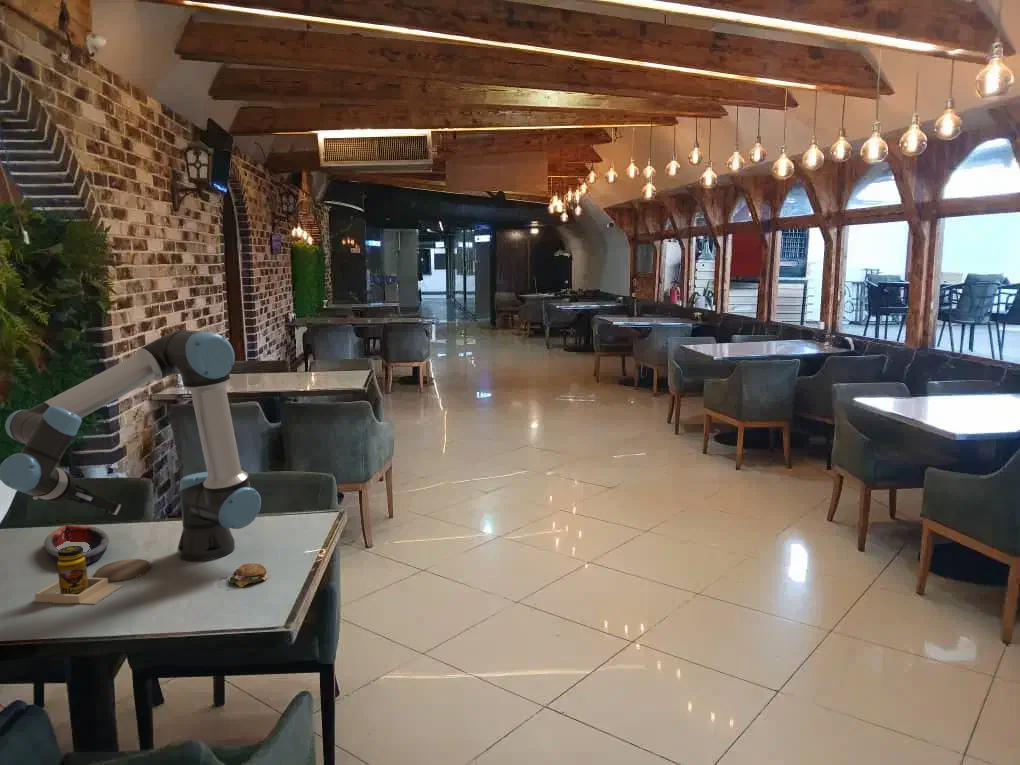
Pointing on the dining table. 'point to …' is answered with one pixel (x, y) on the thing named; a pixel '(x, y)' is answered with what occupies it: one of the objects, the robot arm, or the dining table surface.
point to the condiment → (72, 570)
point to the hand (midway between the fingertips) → (93, 500)
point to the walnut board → (123, 569)
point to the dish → (78, 540)
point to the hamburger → (248, 574)
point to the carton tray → (88, 596)
